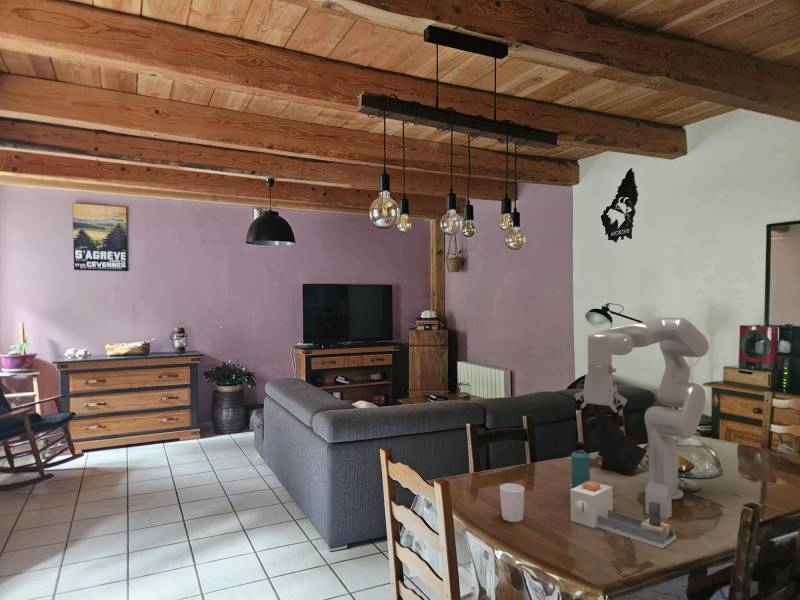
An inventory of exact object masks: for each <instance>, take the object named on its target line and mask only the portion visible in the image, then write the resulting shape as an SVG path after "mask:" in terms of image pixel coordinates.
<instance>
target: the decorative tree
mask: <svg viewBox="0 0 800 600" xmlns="http://www.w3.org/2000/svg"><path fill="white" fill-rule="evenodd" d="M592 405H593V412H594V413H593V415H594V424H595V428H596V429H598V431H597V435H598V436H597V438H598V442H600V445H599V451H598V454H597V456H599V457H602V460H601V464H600V468H601V469H606V470H608V471H612V472H615V473H617V474H620V473H621V474H620V475H623V474H624V476H627V475H628V477H632V475H633V474H634V472H635V471H636V469H637V468H638V466H639V465H640V463H641V462H642V460H643V458H644V457H645V455H646V454H647V453H648V450H647V449H645V448H644V447H641V446H640V445H638V443H639V440H637V439H636V438H634V437H631V436H628V435H626V434H625V433H626V431H624V430H622V429H621V428H620V427H619V426H618V424H612V416H610V415H608V414H606V413H605V412H603V411H602V410H601V409H600V408H599V407H598V406H597V404H592Z"/></svg>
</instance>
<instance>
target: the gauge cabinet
mask: <svg viewBox="0 0 800 600" xmlns="http://www.w3.org/2000/svg"><path fill="white" fill-rule="evenodd" d="M569 492H570V493H569V495H570V497H569V499H570V521H571V522H574V523H577V524H580V525H583V526H585V527H588V528H592V529H596V528H598V527H597V525H596V523H598V518H597V516H599V515H600V516H603V517H606V518H607V517H608V510H612V511H614V508H613V507H614V505H613V503H614V502H613V501H614V500H613V498H614V496H613V486H610V485H606V484H603V483H600V490H598V491H595V492H593V491H589V490H586V489H582V485H579V486H577V487H575V488H573V489H572V488H571V489H570V491H569Z"/></svg>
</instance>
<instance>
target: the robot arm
mask: <svg viewBox="0 0 800 600" xmlns="http://www.w3.org/2000/svg"><path fill="white" fill-rule="evenodd" d="M657 343H659V344H658V345H659V349H660V351H661V354H662V356H663V359H664V363H665V369H664V372H663V376H662V377H661V381H660V384H659V387H658V390H657V400H658V401H659V402H660V403H661V404H663V405H664V406H659V405H657V406H651V407H649V408H648V409H646V411H645V414H644V425H645V429H646V435H647V446H648V451H647V453H648V482H650V483H654V484H658V485H662V486H666V487H669V491H670V495H671V500H680V499H682V498H683V497H684V492H683V491H682V490H681V489H680V488H679V484H680V483H681V479H680V478H679V468H678V464H679V463H678V445H677V441H676V439H675V437H677V438H682V439H691V438H692V437H694V436H695V434H696V433H697V430H698V428H699V424H700V422H701V418H702V416H703V412H704V408H705V405H706V401H707V400H706V398H707V397H706V396H707V395H706V392H705V389H704V388H703V387H702V385H701V384H698V383H694V382H689V381H690V378H691V377H690V376H691V367H690V365H689V364H688V362H687V361H686V359H685V357H686V358H687V357H688V358H702V357H704V356H706V355H707V354H708V352H709V346H710V345H709V342H708V339H707V337H706V336H705V335H704V334H703V333H702V332H701V331H700V330H699V329H698V328H697V327H696V326H695V325H694V324H693V323H692V322H690V321H689V320H688V319H687V318H684V317H664V316H663V317H656V318H652V319H649V320H646V321H642V322H639V323H635V324H628V325H624V326H617V327H612V328H606V329H604V330H599V331H598V332H596V333H591V334H589V335H588V336H587V373H586V374H585V379H584V382H583V390H582V391H579V392H577V393H575V394H574V397H575V400H576V402H577V404H578V405H579V406H580V408H581V412H582V413H581V417H582V419H583V421H587V420H589V419H590V407H588V406H589V405H590V404H591V405H593V404H595V405H596V406H597V405H598V406H599V405H600V406H609V408H611V410H612V412H611V418H612V424H616V425H618V423H619V421H620V419H619V418H620V413H619V412H620V411H621V410H622V409H623V408H625V405H626V404H627V402H628V399H627V398H625V397H624V396H622V395H621V394H619V393H618V388H617V380H616V376H615V375H614V374H613V373H616V371H617V368H614V367H613V363H612V360H613V359H612V355H615V356H625V355H628V354H630V353H631V352H632V351H633V348H634V349H635V348H644V347H648V346H651V345H654V344H657ZM581 396H583V399H582V398H581ZM619 401H620V402H619ZM618 402H619V404H618ZM665 405H666V406H670V407H666V406H665ZM671 407H675V408H671ZM677 408H681V409H677ZM646 489H647V485H646V486H645V487H644V492H645V493H646Z"/></svg>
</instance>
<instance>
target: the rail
mask: <svg viewBox="0 0 800 600" xmlns="http://www.w3.org/2000/svg"><path fill="white" fill-rule="evenodd" d="M597 518H598V523H596V525H597V527H596V528H598V529H602V530H603V531H604V530H605V531H607V532H611V533H614V534H616V535H619V536H622V537H626V538H628V537H629V538H628V539H632V540H634V541H637V542H640V543H643V542H644V543H643V544H646V543H647V545H649V544H650V546H652V545H654V546H653V547H655V546H657V547H656V548H658V547H660V548H659V549H661V548H663V549H665V548H667V545H668V544H669V545H670V544H672V543H673V542H674V541H676V540H677V535H675V533H676V532H675V528H673V527H669V536H667V537H666V538H665V536H664V535H661V534H658V533H654V532H651V531H648V530H645V529H642V528H641V523H642V522H644V521H646V520H647V519H646V520H645V519H643V518H640V517H635V516H632V515H629V514H625V513H622V512H619V511H615V510H613V511H612V510H608V517H607V518H606V517H603V516H600V515H599V516H597ZM675 539H676V540H675ZM671 542H672V543H671ZM669 545H668V546H669ZM664 547H665V548H664Z"/></svg>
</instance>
